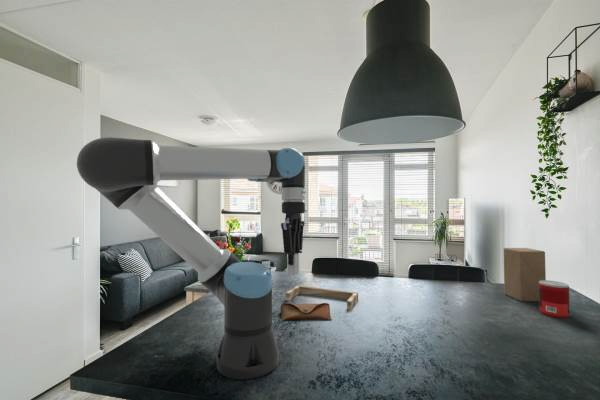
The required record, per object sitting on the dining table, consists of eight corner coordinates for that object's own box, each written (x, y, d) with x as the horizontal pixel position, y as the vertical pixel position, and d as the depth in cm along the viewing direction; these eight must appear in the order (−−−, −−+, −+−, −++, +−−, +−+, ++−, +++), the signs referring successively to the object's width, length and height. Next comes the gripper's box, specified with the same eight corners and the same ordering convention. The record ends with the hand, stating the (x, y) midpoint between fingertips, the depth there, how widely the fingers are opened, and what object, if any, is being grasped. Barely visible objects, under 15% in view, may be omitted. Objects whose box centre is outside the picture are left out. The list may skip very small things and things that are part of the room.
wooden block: (546, 301, 113) (545, 251, 114) (521, 301, 114) (520, 251, 114) (527, 294, 123) (526, 247, 124) (503, 294, 124) (502, 247, 124)
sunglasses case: (279, 321, 95) (280, 300, 99) (280, 324, 101) (280, 305, 105) (333, 320, 96) (331, 299, 99) (330, 323, 102) (329, 304, 105)
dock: (350, 309, 105) (350, 301, 106) (285, 300, 117) (285, 292, 117) (358, 300, 116) (358, 292, 116) (297, 292, 127) (297, 285, 128)
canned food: (575, 319, 96) (574, 286, 96) (548, 317, 97) (547, 285, 98) (559, 311, 103) (559, 280, 104) (534, 309, 105) (534, 279, 105)
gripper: (294, 200, 85) (294, 280, 84) (312, 201, 98) (312, 270, 97) (272, 201, 88) (272, 278, 87) (292, 201, 101) (292, 268, 101)
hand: (293, 273), depth 92 cm, fingers closed
